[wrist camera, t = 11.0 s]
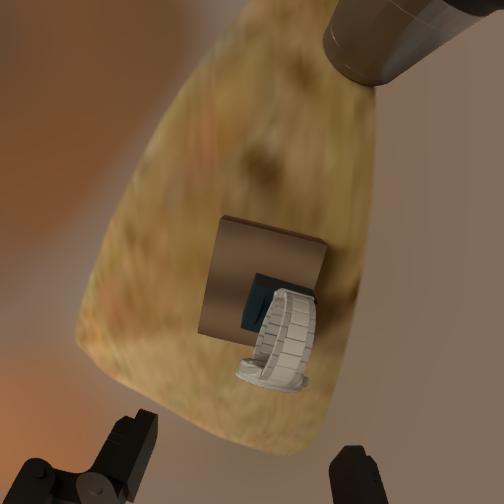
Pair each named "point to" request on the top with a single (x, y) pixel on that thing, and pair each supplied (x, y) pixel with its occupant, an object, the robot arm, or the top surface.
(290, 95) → the top surface
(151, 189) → the top surface
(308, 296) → the watch
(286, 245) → the plinth
